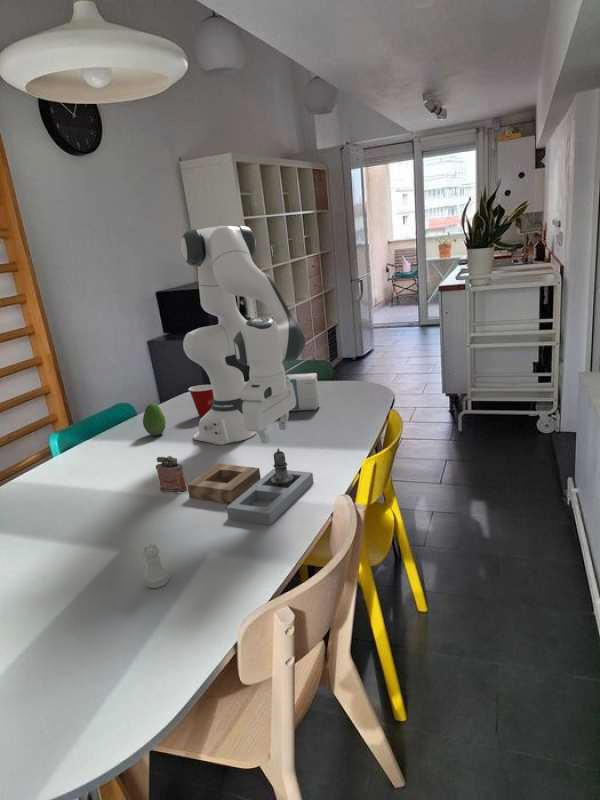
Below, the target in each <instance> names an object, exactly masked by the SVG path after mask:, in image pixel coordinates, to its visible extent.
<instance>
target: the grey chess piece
mask: <svg viewBox="0 0 600 800" xmlns="http://www.w3.org/2000/svg"><path fill="white" fill-rule="evenodd" d="M273 461H274V462H273V463H274V464H273V465H272V466H273V468H274V469H275V472H276V474H275V476H274V477H272V478H271V481H272V482H273V485H274V487H282V488H288V487H290V486H291V485H292V481H293V480H292V479H293V476H292V475H291V474H288V473H287V470H288V469H287V466H288V463H287V462H286V456H285V452H283V451H282V450H280V448H277V450H276V451H274V453H273Z"/></svg>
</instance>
